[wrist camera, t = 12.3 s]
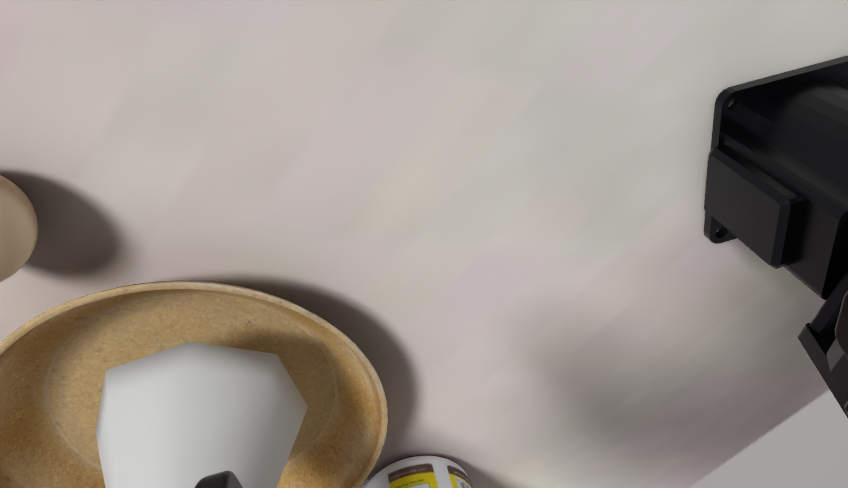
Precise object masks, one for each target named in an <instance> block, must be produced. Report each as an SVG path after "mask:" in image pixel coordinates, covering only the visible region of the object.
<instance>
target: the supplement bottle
mask: <svg viewBox="0 0 848 488" xmlns="http://www.w3.org/2000/svg"><path fill="white" fill-rule="evenodd" d="M365 488H472V486H471V483H470V480H469V477H468V475H467V474H466V472H465V471H464V470H463V469H462V468H461V467H460V466H459V465H458V464H456V463H455V462H453V461H451V460H448V459H445V458H442V457H437V456H416V457H411V458H406V459H403V460H400V461H397V462H395V463H392V464H390V465H388V466H387V467H385V468H383V469H382V470H381V471H379V472H378V473H377V474H376V475H374V476H373V477H372V478H371V479H370V481H369V482H368V483H367V485H366V486H365Z"/></svg>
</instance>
